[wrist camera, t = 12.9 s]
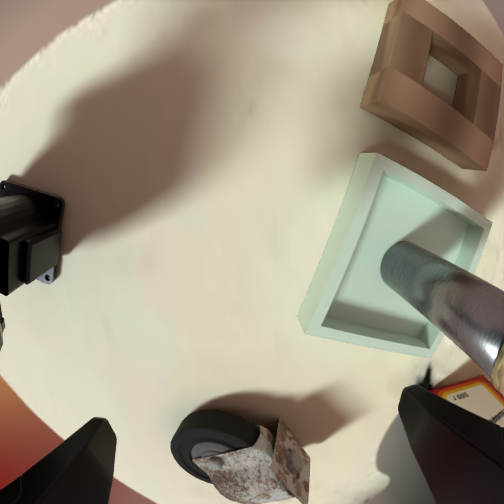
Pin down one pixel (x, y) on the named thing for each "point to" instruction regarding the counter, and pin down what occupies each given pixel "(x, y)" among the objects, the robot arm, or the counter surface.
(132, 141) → the counter surface
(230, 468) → the caster wheel
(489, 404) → the baking soda box
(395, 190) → the tray
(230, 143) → the counter surface
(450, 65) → the block
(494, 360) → the pin
